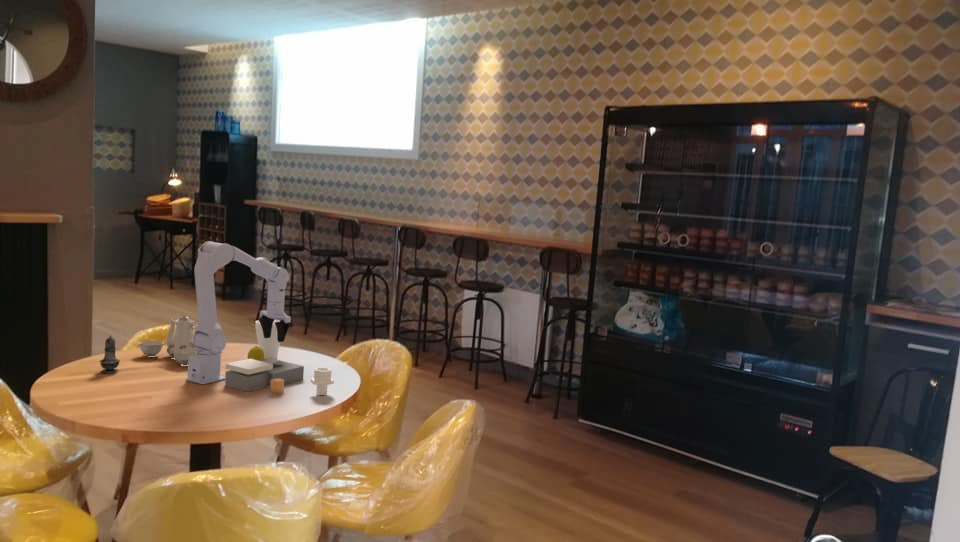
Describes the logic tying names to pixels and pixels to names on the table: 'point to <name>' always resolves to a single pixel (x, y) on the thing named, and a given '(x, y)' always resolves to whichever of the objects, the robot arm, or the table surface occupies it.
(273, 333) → the cup
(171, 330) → the chinaware
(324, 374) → the pipe fitting
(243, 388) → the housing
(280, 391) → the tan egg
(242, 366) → the cream square tile
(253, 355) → the lemon
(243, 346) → the table surface
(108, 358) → the salt shaker
